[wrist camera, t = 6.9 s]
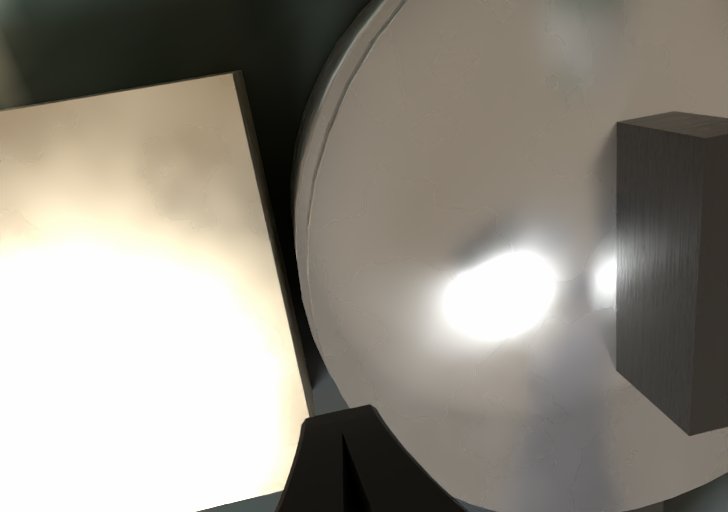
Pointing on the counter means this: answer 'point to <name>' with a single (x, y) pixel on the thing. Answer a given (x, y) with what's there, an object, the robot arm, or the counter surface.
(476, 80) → the cooker lid
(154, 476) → the cooker pot
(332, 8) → the counter surface
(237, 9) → the counter surface
